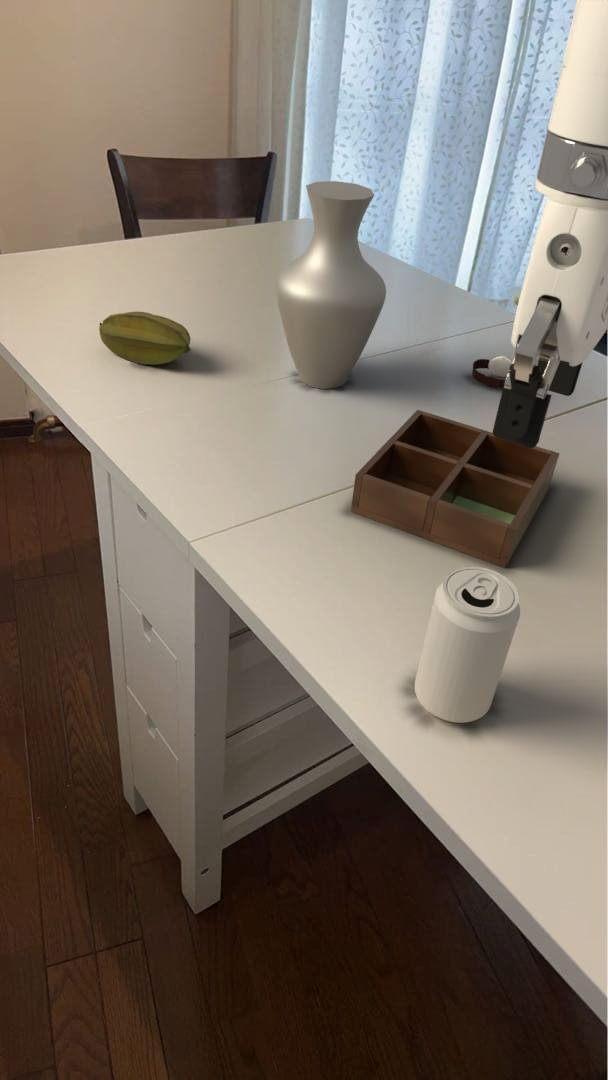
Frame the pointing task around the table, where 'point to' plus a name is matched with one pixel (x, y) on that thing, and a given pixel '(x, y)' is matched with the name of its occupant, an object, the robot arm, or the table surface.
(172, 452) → the table surface
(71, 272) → the table surface
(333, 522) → the table surface
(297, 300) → the vase
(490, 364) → the watch
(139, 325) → the fruit
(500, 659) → the beverage can
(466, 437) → the tray
